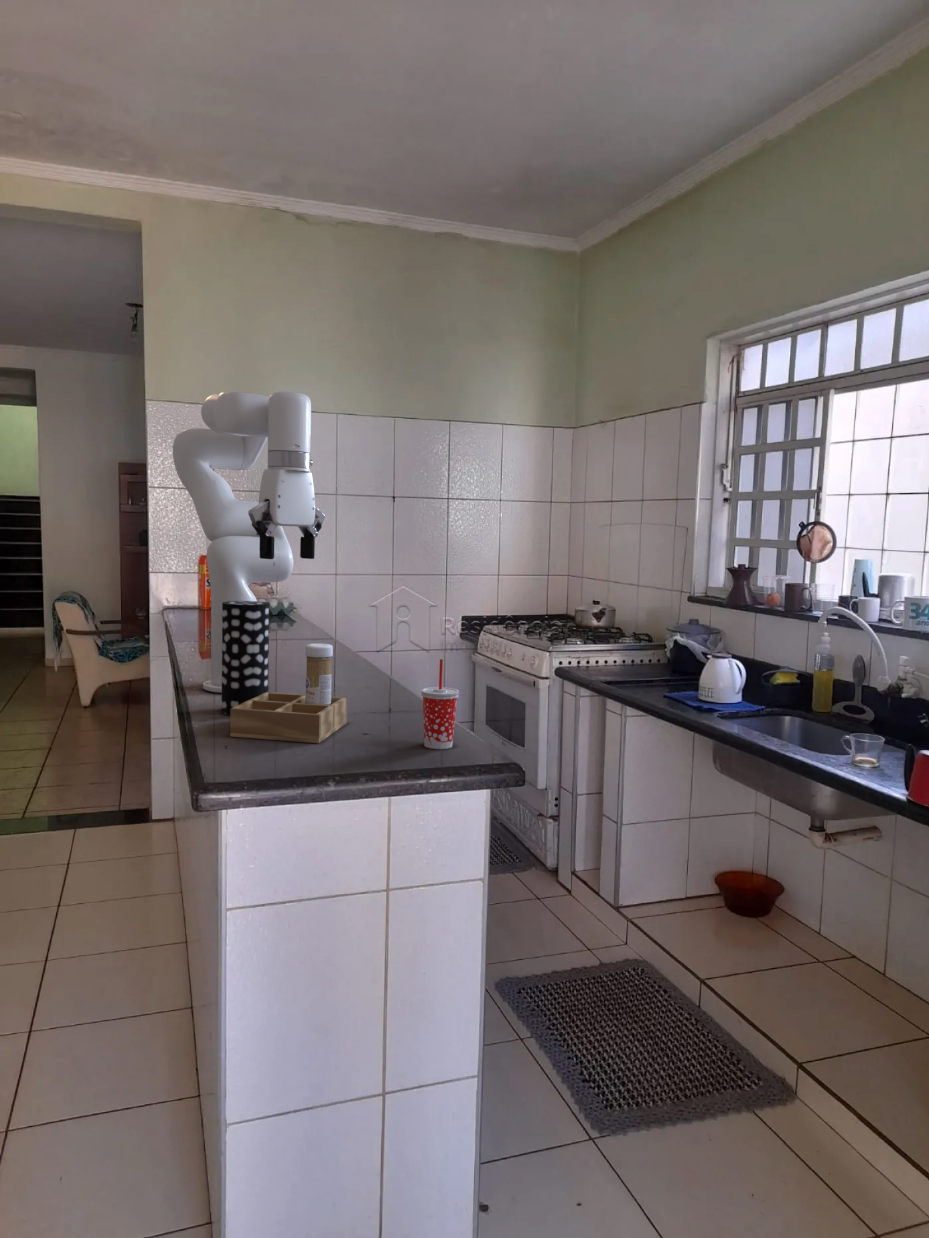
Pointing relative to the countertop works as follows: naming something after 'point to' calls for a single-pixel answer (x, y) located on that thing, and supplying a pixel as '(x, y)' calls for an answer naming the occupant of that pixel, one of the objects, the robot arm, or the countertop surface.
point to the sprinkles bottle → (318, 674)
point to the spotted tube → (244, 652)
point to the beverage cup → (439, 714)
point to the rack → (287, 718)
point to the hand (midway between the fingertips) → (287, 558)
